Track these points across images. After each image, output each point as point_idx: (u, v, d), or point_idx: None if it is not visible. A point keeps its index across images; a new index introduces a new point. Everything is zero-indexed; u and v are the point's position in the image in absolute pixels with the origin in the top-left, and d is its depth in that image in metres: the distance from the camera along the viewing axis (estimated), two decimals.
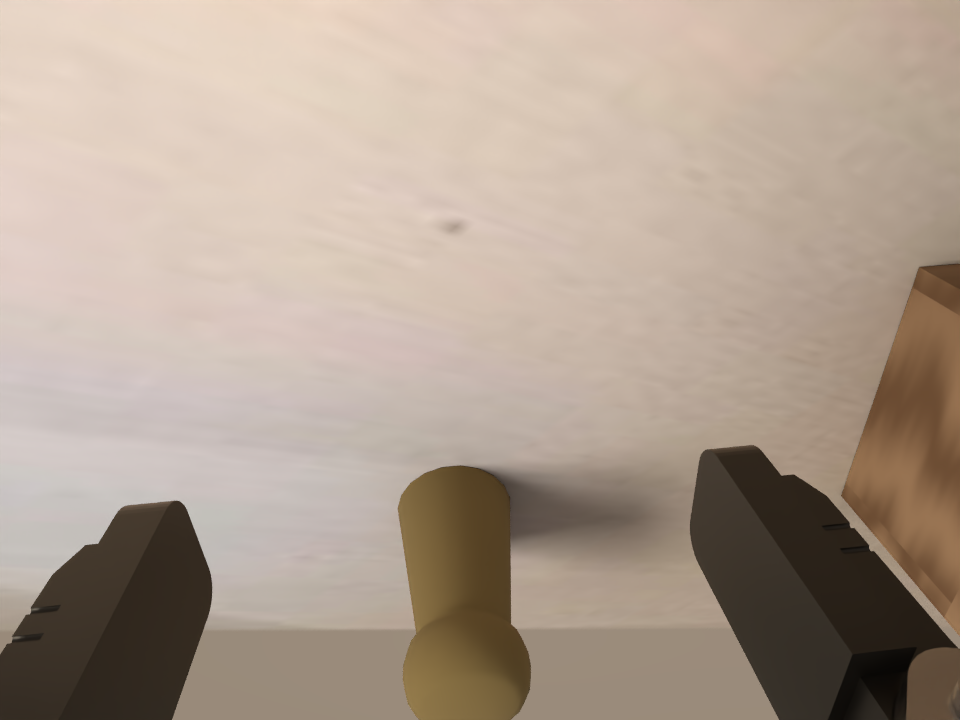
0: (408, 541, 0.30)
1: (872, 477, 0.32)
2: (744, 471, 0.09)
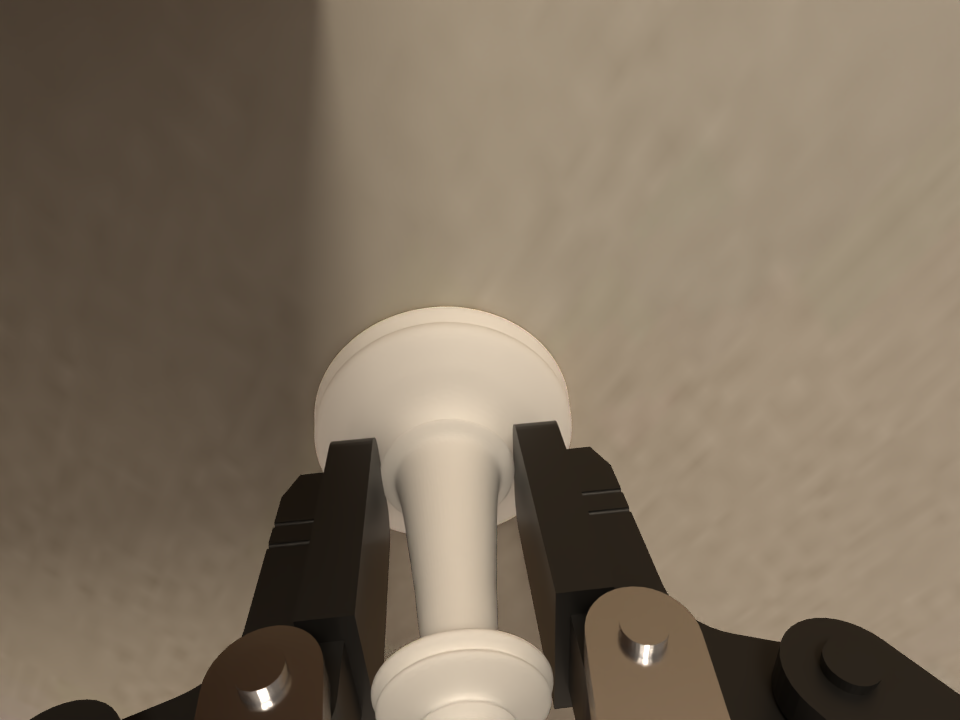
0: None
1: None
2: (534, 442, 0.09)
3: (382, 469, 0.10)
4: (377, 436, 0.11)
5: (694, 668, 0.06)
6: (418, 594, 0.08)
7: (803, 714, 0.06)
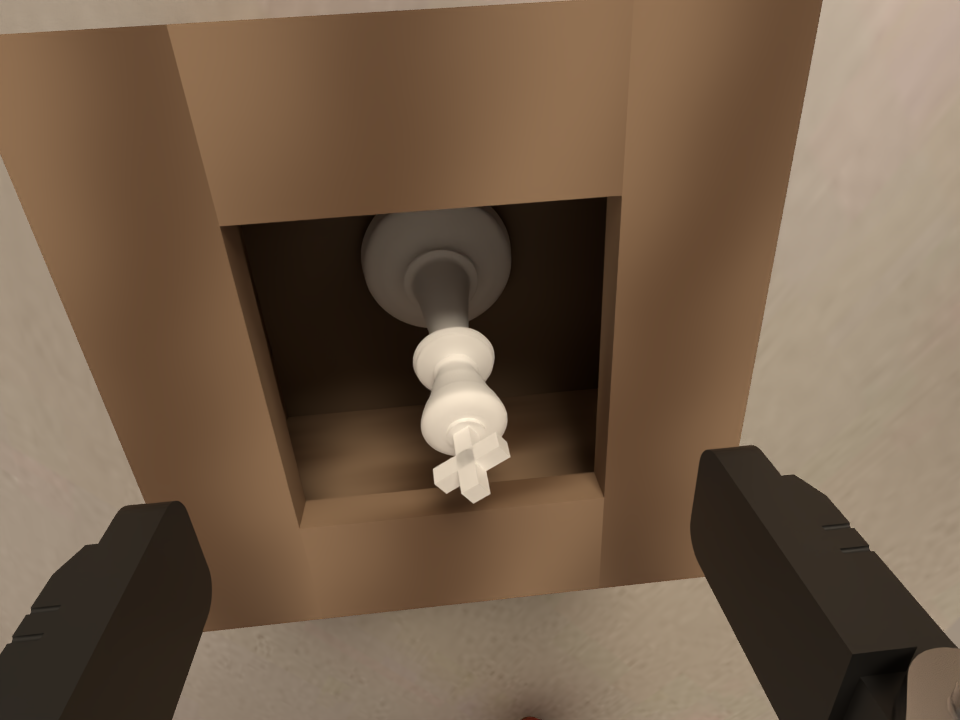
0: None
1: None
2: (744, 471, 0.09)
3: (404, 286, 0.19)
4: (398, 270, 0.19)
5: None
6: (429, 331, 0.17)
7: None
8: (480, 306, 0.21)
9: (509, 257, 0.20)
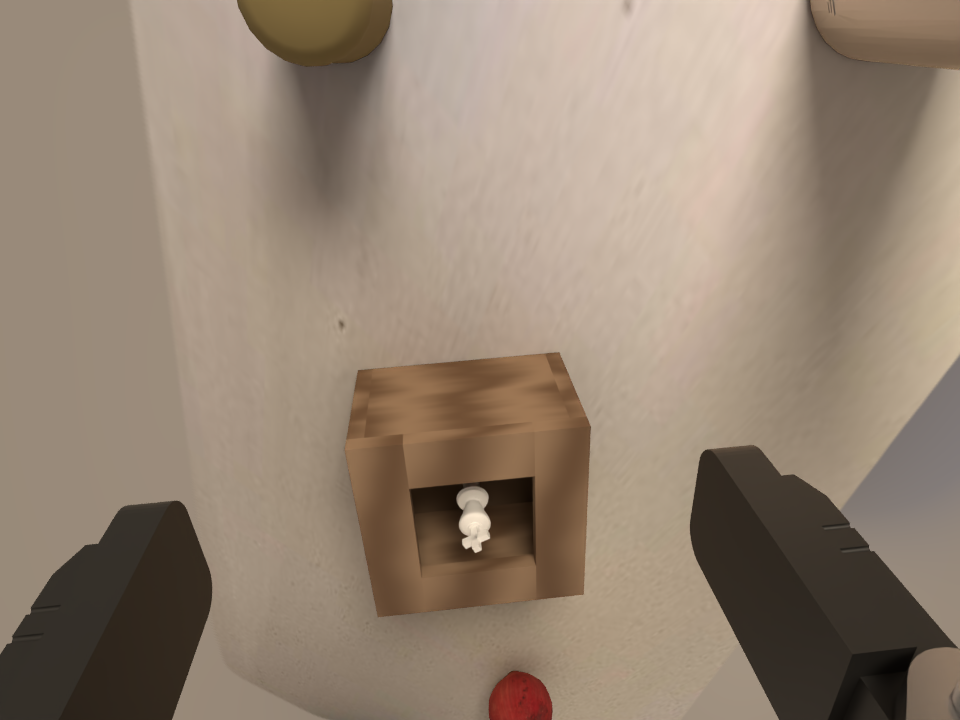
0: None
1: (398, 378, 0.41)
2: (744, 471, 0.09)
3: None
4: None
5: None
6: (463, 484, 0.42)
7: None
8: None
9: None
